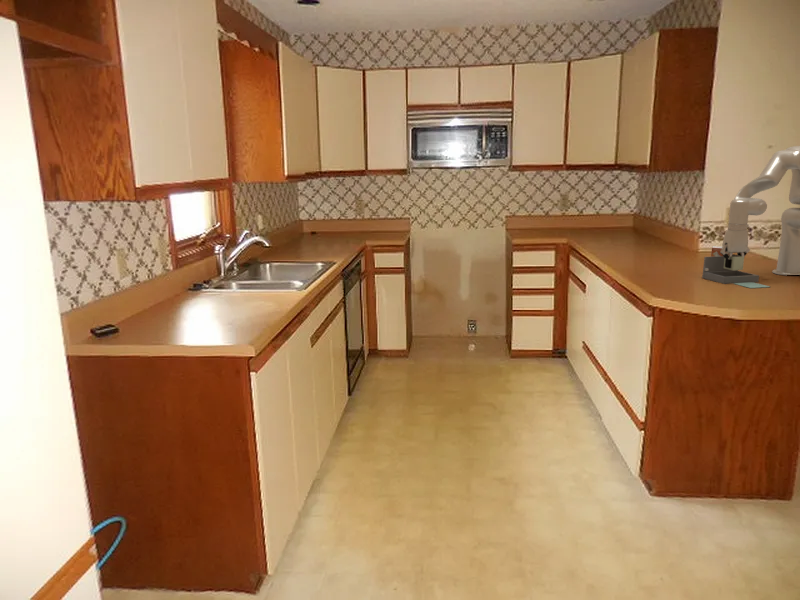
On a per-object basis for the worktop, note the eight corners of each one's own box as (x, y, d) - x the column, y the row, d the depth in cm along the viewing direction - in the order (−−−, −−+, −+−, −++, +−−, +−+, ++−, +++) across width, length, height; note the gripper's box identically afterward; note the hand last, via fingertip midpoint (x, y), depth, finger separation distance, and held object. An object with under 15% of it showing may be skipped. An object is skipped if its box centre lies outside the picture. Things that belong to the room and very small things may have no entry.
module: (732, 267, 276) (734, 253, 275) (742, 269, 270) (744, 255, 269) (723, 268, 275) (724, 254, 274) (733, 270, 269) (734, 256, 268)
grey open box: (734, 276, 283) (736, 255, 281) (758, 282, 269) (761, 260, 267) (700, 277, 280) (703, 256, 277) (723, 283, 266) (726, 261, 263)
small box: (708, 274, 288) (711, 247, 285) (709, 272, 294) (712, 245, 291) (727, 275, 284) (730, 248, 282) (727, 273, 290) (731, 246, 287)
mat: (752, 282, 267) (752, 282, 267) (770, 287, 258) (770, 286, 258) (733, 283, 265) (733, 283, 265) (750, 288, 256) (750, 287, 256)
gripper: (747, 225, 273) (743, 264, 278) (714, 227, 270) (711, 267, 274) (760, 227, 266) (755, 267, 271) (727, 229, 263) (723, 270, 267)
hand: (733, 266), depth 272 cm, fingers closed on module, 5 cm apart
